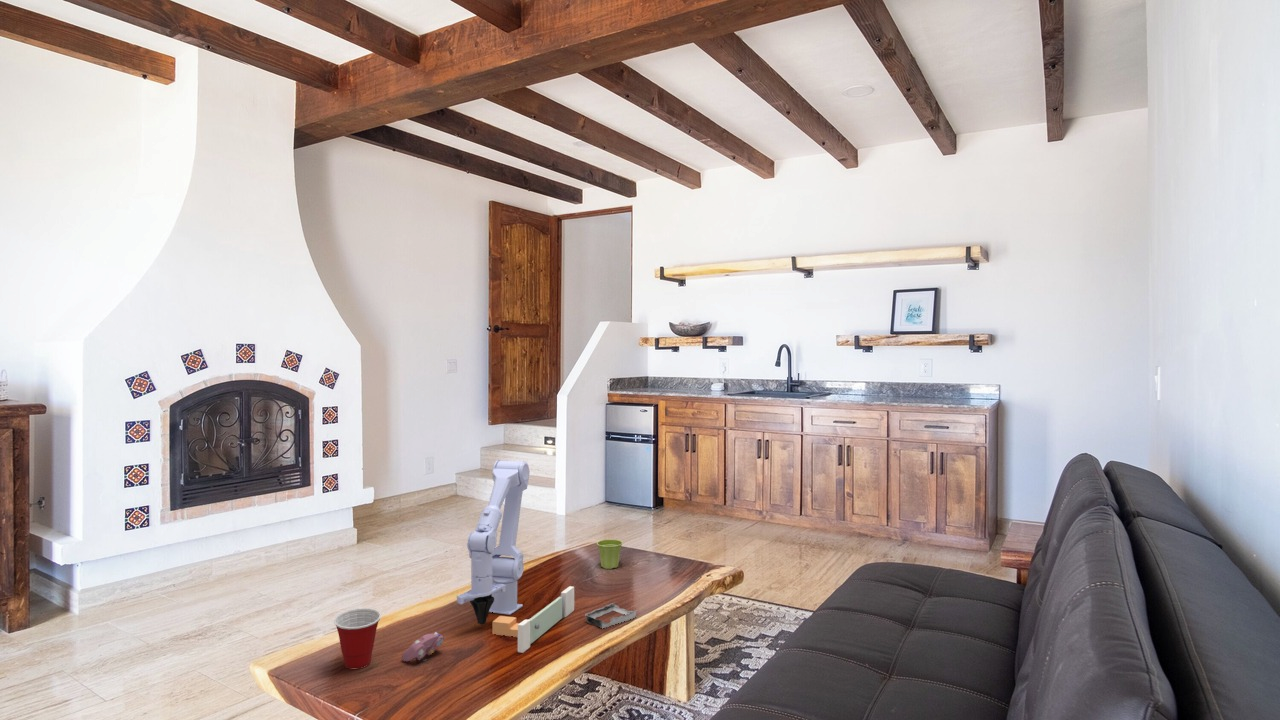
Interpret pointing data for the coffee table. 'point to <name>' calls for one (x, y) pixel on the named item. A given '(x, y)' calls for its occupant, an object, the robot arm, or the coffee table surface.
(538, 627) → the door
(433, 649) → the pink elongated piece
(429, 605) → the coffee table surface
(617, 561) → the plant pot
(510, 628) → the stepped wooden block
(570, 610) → the door frame
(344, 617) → the plastic cup
